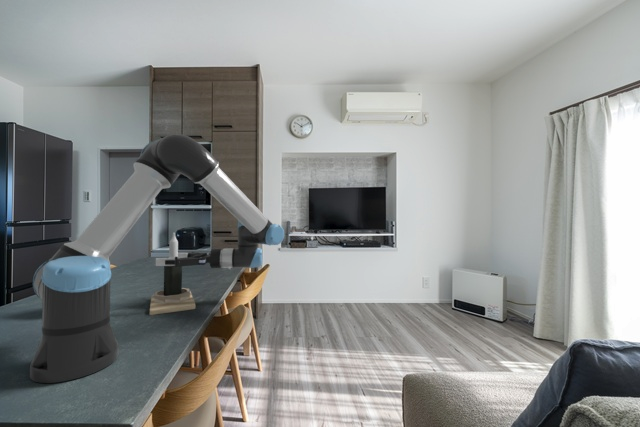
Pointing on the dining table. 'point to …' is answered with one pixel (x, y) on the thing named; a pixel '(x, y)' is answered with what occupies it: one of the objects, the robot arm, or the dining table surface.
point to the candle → (173, 272)
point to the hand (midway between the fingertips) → (163, 259)
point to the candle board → (171, 302)
